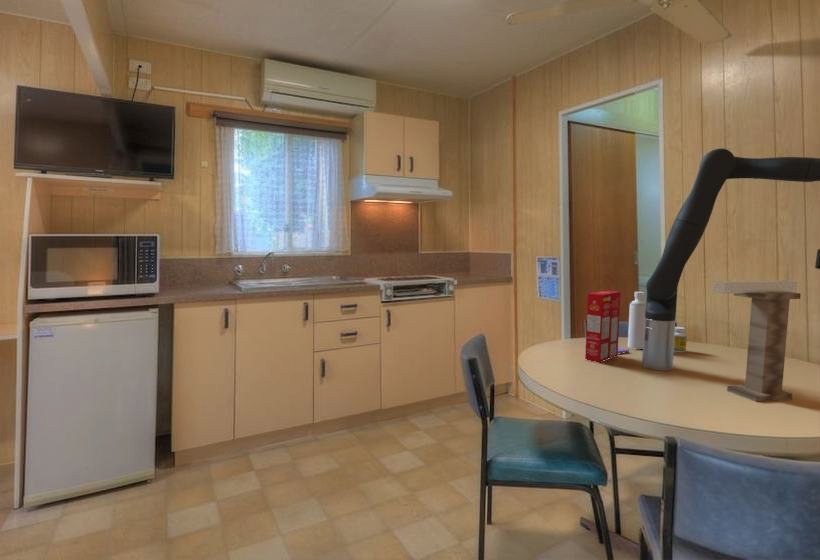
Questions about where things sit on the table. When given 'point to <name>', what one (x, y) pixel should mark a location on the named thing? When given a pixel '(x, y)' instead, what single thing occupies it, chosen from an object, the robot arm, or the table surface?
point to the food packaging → (602, 325)
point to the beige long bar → (754, 286)
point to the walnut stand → (766, 347)
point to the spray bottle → (636, 321)
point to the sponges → (622, 350)
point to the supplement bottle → (680, 339)
